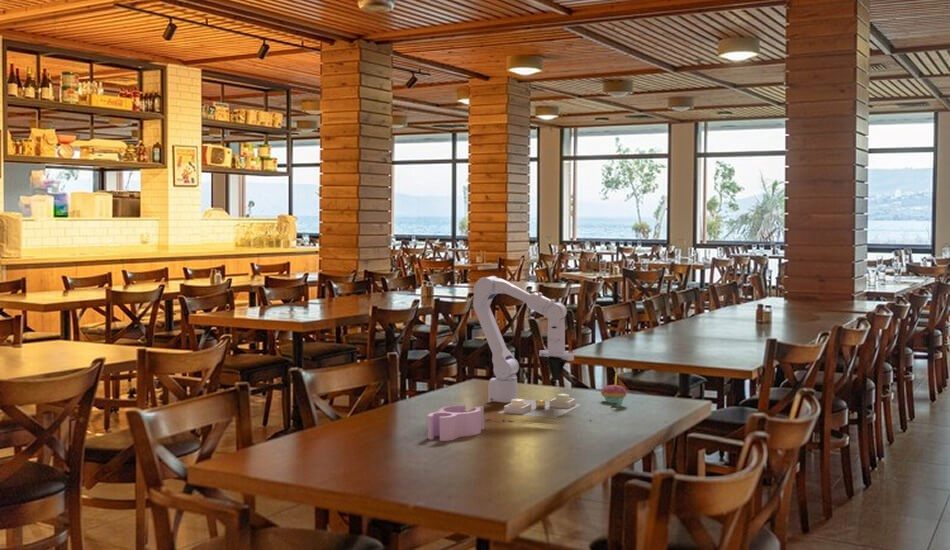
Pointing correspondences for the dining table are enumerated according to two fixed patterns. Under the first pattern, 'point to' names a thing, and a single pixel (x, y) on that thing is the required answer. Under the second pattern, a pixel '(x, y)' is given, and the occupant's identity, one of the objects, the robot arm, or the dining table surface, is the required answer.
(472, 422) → the clip
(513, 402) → the ivory knob
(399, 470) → the dining table surface
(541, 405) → the gold knob
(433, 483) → the dining table surface
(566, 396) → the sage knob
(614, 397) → the cupcake
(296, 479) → the dining table surface
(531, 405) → the panel
